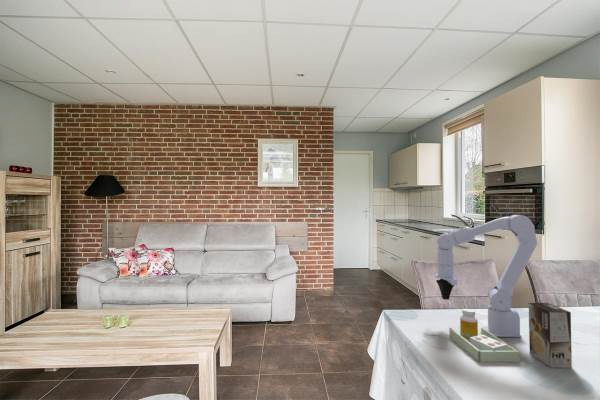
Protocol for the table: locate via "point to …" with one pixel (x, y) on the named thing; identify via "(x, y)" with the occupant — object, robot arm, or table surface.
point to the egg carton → (487, 343)
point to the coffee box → (550, 334)
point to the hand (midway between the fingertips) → (445, 299)
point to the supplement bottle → (468, 324)
